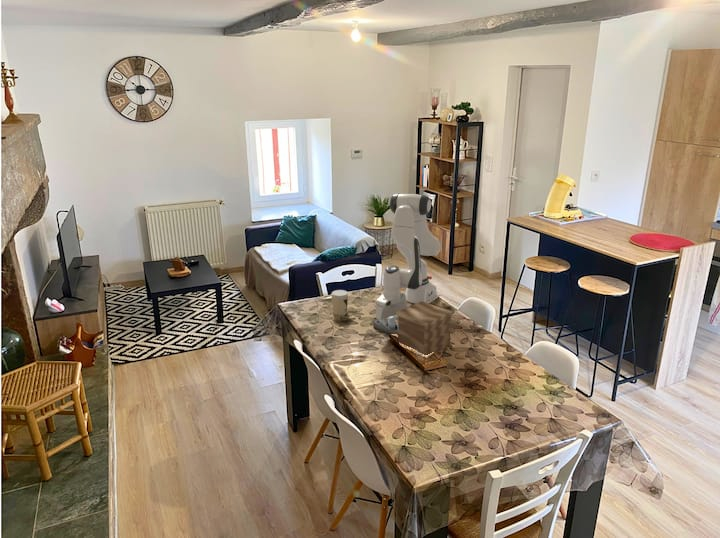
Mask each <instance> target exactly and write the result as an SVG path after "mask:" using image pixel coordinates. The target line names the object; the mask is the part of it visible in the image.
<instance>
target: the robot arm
mask: <svg viewBox="0 0 720 538" xmlns="http://www.w3.org/2000/svg"><path fill="white" fill-rule="evenodd" d="M431 207H432V201H431V198H430V197H429V196H428V195H424V194H422V195H421V194H417V193H394V194H392V196H391V197H390V200H389V209H390V210H391V212H392V213H393V214H394V215H393V220H392V226H391V228H392V229H391V236H392V238H393V240H394V241H395V242H396V248H397V250H398V252H400V253H401V254H402V255H403V256H404V259H405V260H406V263H407V268H402V267H398V266H397V265H388V266H386V267H385V268H384V271H383V276H382V277H383V279H382V286H383V292H382V293H381V295H380V296H379V297H378V298H377V299H376V300H375V304H376V306H375V319H377V320H382V321H383V325H384V326H386V325H387V322H386V321H385V320H387V319H388V317H390V316H395V321H398V315H396V312H398V311H400V310H402V309H405V308H407V307H408V303H410V304H416V303H419V302H421V301H423V302H426V303H429V304H431V303H432V302H434V301H436V299H438V298H439V297H441V293H440V292H438V291H437V285H435V284H434V283H432V282H430V281H431V280H432V279H433V276H432V275H428V264H427V262H426V261H425V260H423V259H422V258H421V256H427V257H429V256H430V257H431V256H437V255H438V254H439V253H440V252H441V250H442V249H441V247H442V244H441V241H440V240H439V238H437V237H436V236H435V235H433V233H432V232H431V230H430V229H429V226H428V222H427V221H428V220H427V215H428V214H429V212H430V211H431V209H432V208H431ZM401 288H405V289H406V290H405V293H404V292H403V293H402V292H401Z"/></svg>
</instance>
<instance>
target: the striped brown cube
mask: <svg viewBox="0 0 720 538" xmlns="http://www.w3.org/2000/svg"><path fill="white" fill-rule="evenodd" d="M397 315H398V320H397V321H398V338H397V343H398V342H400V343H402V344H404V345H406V346H408V347H411V348H413V349H415V350H417V351H418V352H420V353H422V354H424V355H428V354H430V353H432V352H434V353H436V354H437V353H439V352H442V351H443V350H445V349H447V348H448V347H450V346H451V330H452V316H453V311H451V310H448V309H445V308H443V307H439V306H437V305H433V304H431V303H426V302H423V301H421V302H419V303H413V304H412V305H409V306H407V308H405V309H402V310H400V311H398V312H396V314H395V316H397Z"/></svg>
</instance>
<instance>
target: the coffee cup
mask: <svg viewBox="0 0 720 538" xmlns="http://www.w3.org/2000/svg"><path fill="white" fill-rule="evenodd" d="M330 295H331V303H332V312H333V313H332V314H334V315H336V316H344V315H346V314H348V300H349V298H348V297H349V293H348V291H347V290H344V289H336V290H333V291H332V292H331V294H330Z"/></svg>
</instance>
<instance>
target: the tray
mask: <svg viewBox="0 0 720 538" xmlns="http://www.w3.org/2000/svg"><path fill="white" fill-rule="evenodd" d="M387 319H388V320H387ZM387 319H386V320H385V321H386V322H387V325H386V326H384V325H383V321H382V320H379V319H377V320H376V321H375V320H374V321H373V328H374V329H376V330H378V331H380V332H383V333H385V334H387V335H389V334H397V335H398V320H396V316H395V315H393V316H390V317H388V318H387ZM396 321H397V323H396Z"/></svg>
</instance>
